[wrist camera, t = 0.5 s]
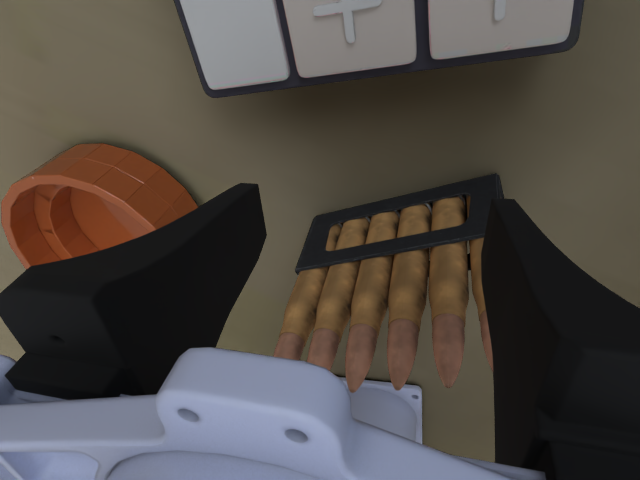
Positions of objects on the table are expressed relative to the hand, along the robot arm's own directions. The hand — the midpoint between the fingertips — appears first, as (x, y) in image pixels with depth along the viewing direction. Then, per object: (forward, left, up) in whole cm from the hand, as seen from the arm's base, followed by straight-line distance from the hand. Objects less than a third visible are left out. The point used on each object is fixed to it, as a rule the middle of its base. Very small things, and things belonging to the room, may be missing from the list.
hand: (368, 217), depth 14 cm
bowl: (-7, +18, -10) cm, 22 cm away
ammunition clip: (-6, 0, -10) cm, 12 cm away
